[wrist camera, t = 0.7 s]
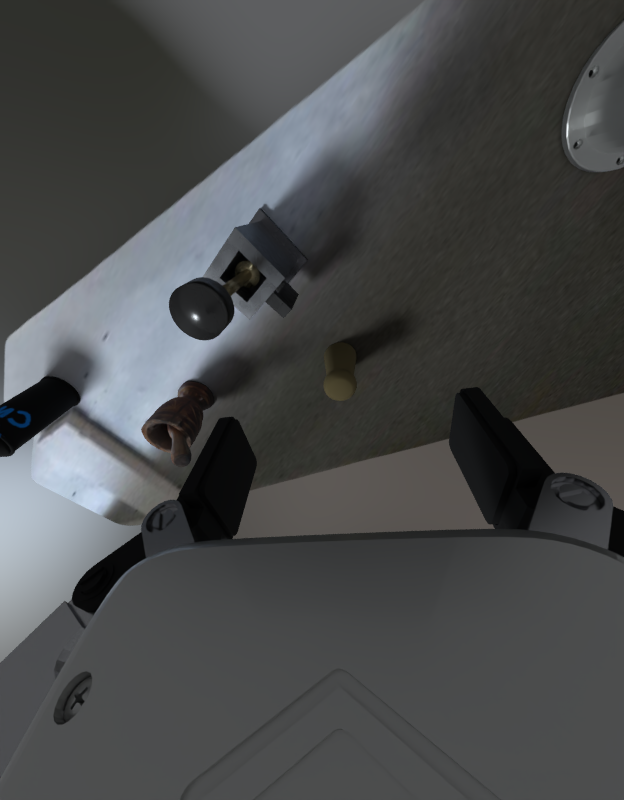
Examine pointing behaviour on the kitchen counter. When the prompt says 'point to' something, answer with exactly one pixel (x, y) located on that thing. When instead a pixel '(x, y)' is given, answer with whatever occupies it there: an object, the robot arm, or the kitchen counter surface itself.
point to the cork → (340, 371)
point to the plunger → (209, 302)
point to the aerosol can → (33, 412)
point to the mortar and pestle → (179, 422)
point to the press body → (260, 265)
